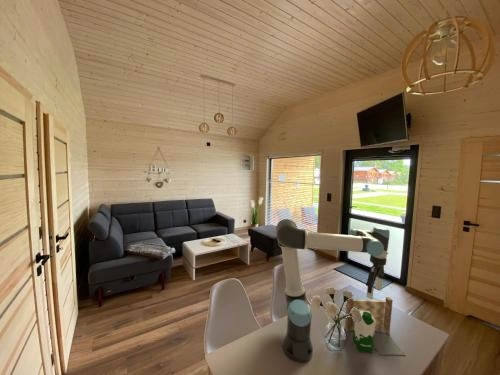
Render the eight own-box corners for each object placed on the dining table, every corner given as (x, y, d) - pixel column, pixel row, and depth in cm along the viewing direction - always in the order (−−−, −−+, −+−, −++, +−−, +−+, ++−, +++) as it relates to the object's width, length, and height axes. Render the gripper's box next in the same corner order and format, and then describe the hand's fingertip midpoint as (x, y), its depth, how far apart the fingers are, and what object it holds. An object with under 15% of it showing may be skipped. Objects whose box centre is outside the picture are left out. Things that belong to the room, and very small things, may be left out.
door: (352, 332, 123) (355, 302, 121) (350, 328, 126) (352, 299, 124) (384, 333, 123) (387, 303, 121) (381, 329, 126) (383, 300, 124)
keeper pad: (379, 354, 109) (379, 354, 109) (366, 334, 122) (366, 334, 122) (405, 355, 109) (405, 354, 109) (389, 335, 122) (389, 334, 121)
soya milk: (357, 353, 109) (360, 316, 107) (350, 339, 118) (353, 305, 116) (375, 355, 108) (378, 318, 106) (367, 340, 117) (370, 306, 115)
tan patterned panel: (347, 331, 124) (349, 298, 122) (344, 326, 127) (346, 295, 125) (389, 332, 123) (392, 300, 122) (385, 328, 127) (388, 296, 125)
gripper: (378, 264, 103) (373, 305, 105) (393, 253, 120) (389, 288, 122) (361, 259, 109) (357, 298, 111) (378, 248, 126) (374, 283, 128)
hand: (374, 293), depth 116 cm, fingers open, 13 cm apart
